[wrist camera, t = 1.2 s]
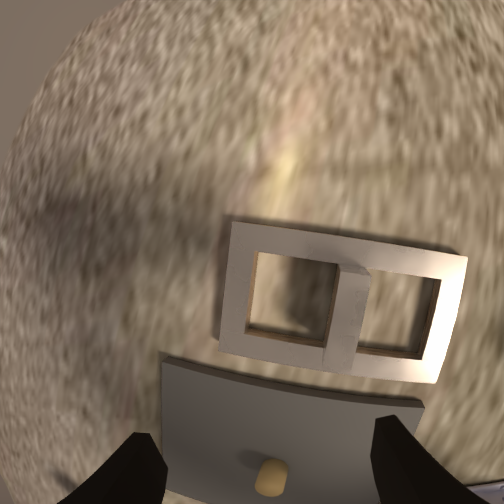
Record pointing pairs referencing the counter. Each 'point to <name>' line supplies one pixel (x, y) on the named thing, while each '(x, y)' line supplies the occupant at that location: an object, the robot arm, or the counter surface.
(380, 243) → the double window frame
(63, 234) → the counter surface
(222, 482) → the plate
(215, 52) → the counter surface
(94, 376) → the counter surface
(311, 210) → the counter surface
